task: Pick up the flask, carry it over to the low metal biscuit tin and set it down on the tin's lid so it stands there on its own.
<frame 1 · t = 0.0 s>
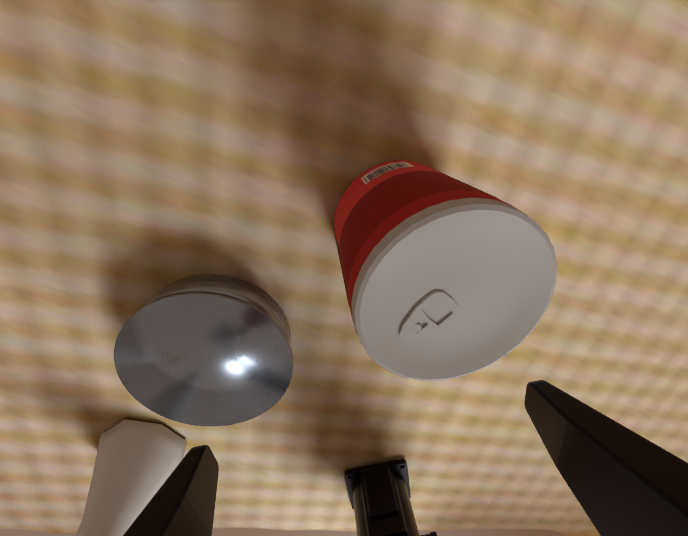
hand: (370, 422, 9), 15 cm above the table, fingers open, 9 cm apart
canned food: (389, 217, 22), on the table
flask: (145, 443, 29), on the table
biscuit tin: (219, 335, 25), on the table
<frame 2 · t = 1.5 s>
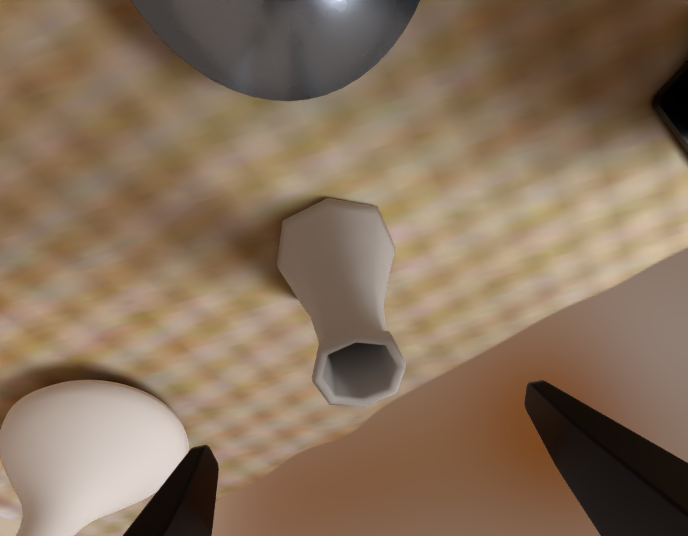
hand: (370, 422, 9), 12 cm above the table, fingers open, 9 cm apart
flask: (335, 253, 20), on the table
flower in vase: (127, 424, 24), on the table
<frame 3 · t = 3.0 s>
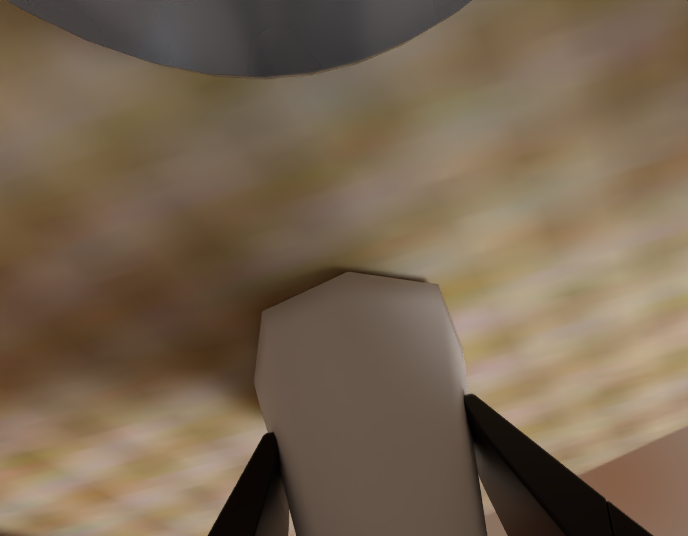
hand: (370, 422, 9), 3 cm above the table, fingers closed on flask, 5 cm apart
flask: (357, 355, 12), on the table, touching gripper
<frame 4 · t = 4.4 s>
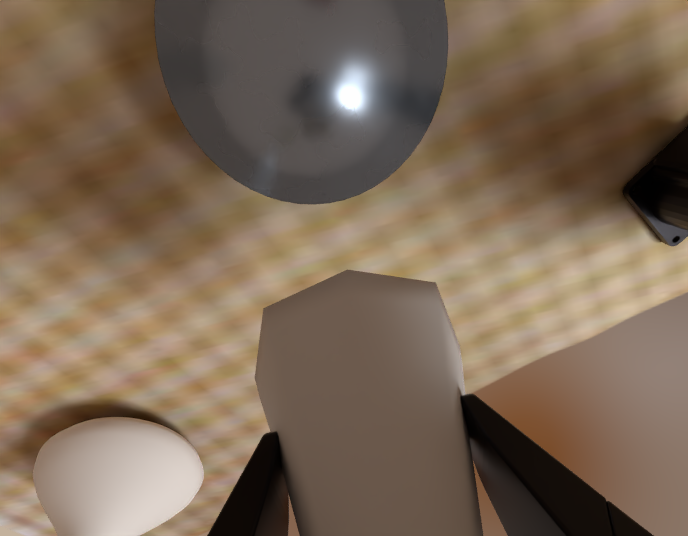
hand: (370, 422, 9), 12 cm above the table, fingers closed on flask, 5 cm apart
flask: (356, 352, 12), point 9 cm above the table, touching gripper
flower in vase: (145, 453, 26), on the table
biscuit tin: (308, 72, 16), on the table
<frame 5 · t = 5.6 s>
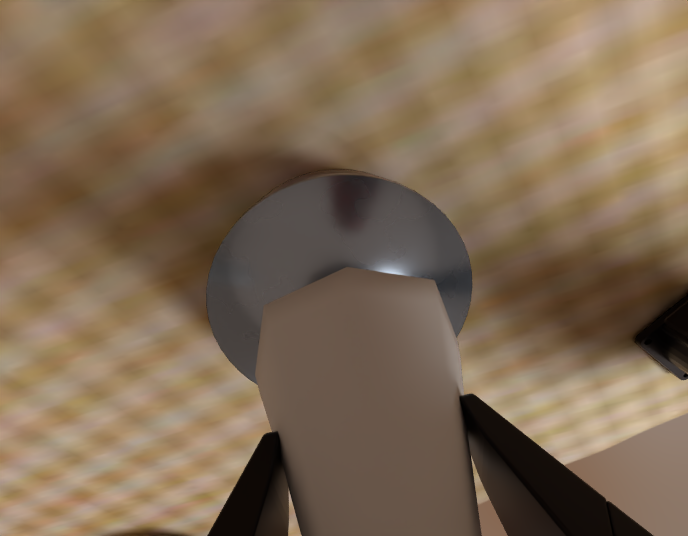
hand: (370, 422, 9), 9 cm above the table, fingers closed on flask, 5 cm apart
flask: (356, 349, 12), point 6 cm above the table, touching gripper
biscuit tin: (337, 273, 17), on the table
when the fingers open (7 cm above the table, at t = 6.2 s): flask drops 1 cm, point 3 cm above the table.
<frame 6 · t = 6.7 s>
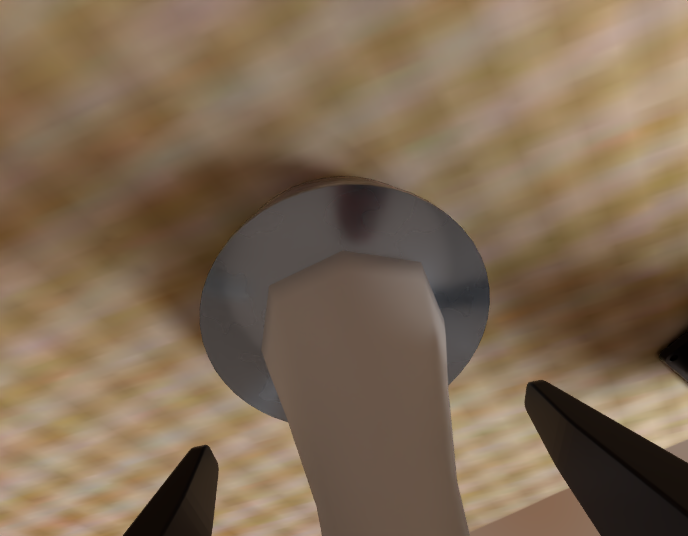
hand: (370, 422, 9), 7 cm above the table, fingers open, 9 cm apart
flask: (352, 327, 13), point 3 cm above the table
biscuit tin: (341, 287, 16), on the table
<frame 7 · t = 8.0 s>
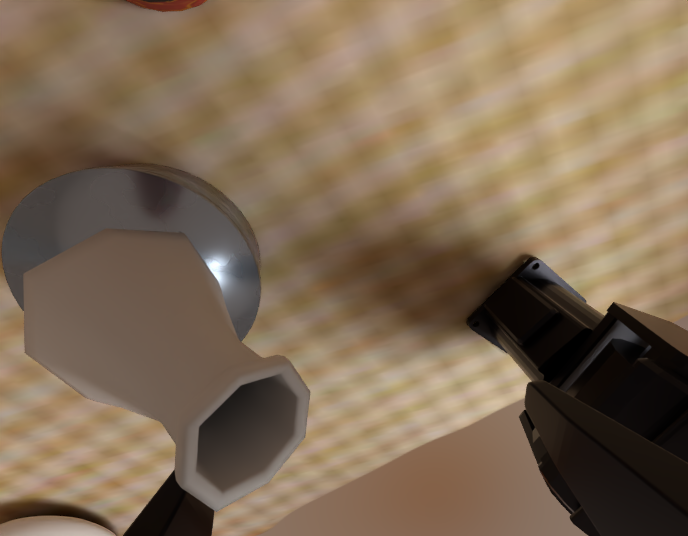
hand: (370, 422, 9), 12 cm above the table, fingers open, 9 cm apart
flask: (134, 307, 14), point 5 cm above the table, touching biscuit tin
flower in vase: (75, 535, 29), on the table
biscuit tin: (166, 258, 19), on the table, touching flask
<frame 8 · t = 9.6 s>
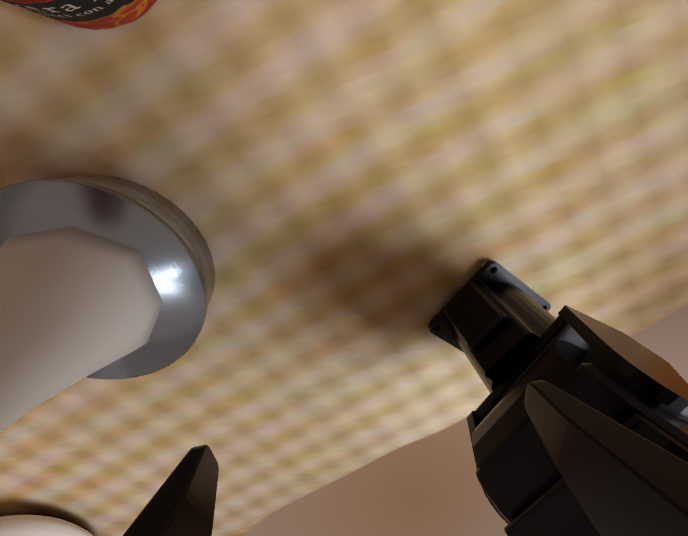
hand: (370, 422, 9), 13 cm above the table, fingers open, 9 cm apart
flask: (90, 290, 17), point 3 cm above the table, touching biscuit tin
flower in vase: (56, 534, 30), on the table
biscuit tin: (122, 265, 20), on the table, touching flask
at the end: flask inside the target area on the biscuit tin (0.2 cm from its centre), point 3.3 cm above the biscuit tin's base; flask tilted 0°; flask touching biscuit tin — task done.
